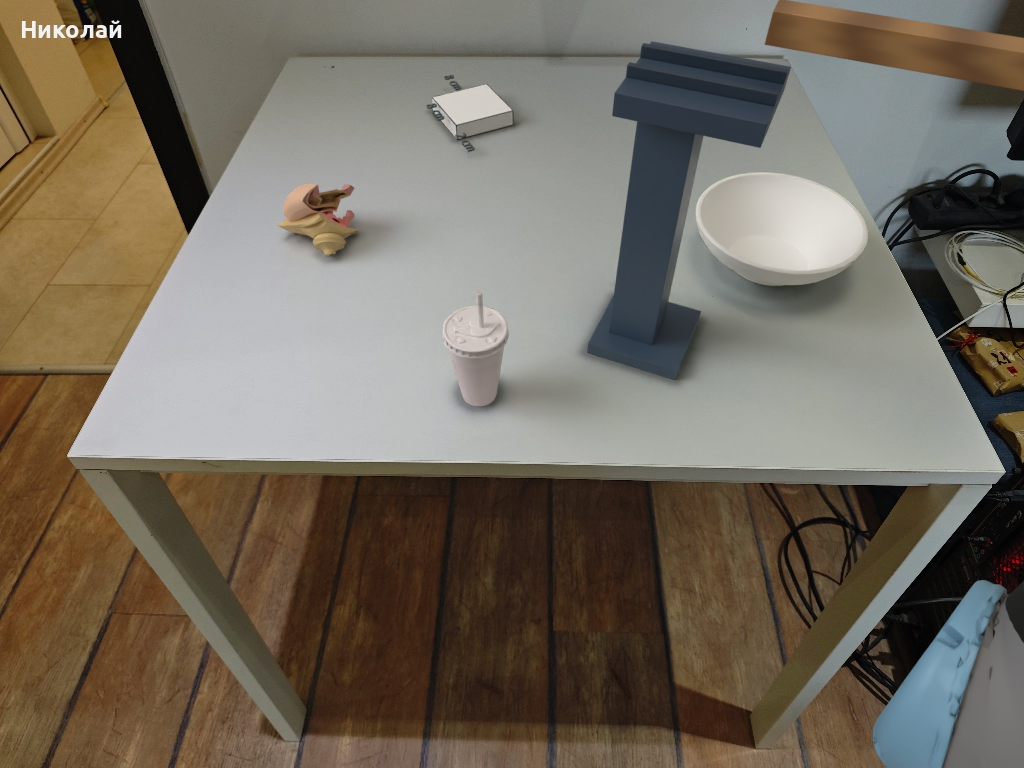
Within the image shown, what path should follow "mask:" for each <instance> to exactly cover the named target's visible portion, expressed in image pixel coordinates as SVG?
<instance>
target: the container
mask: <svg viewBox="0 0 1024 768" xmlns="http://www.w3.org/2000/svg"><path fill="white" fill-rule="evenodd" d="M443 78H444V80H445V81H449V83H448V84H449V86H451V87H452V88H453V89H454V90H455V91H452V92H451V91H450V92H446V93H444V94H439V95H434V96H432V97H431V103H429V104H426V109H427V110H432V111H431V115H432V116H433V117H434V118H435V119H436V120H437V122H440V121H441V123H442V124H443V125H444V127H445V128H446V129H447V130H448V132H450V134H451V135H452V136H453V137H454V138H455V140H456V141H459V140H462V139H464V140H462V141H461V145H462V146H463V147H464V148H465V150H466V151H467V153H470V152H474V151H475V150H476V147H475V146H473V144H472V143H471V142H470V140H468V139H467V138H470V137H473V136H477V135H480V134H485V133H489V132H493V131H496V130H500V129H504V128H507V127H511V126H514V109H512V108H511V106H510V105H508V103H506V102H505V100H504V99H503V98H502V97H501V96H500V95H499V94H498V93H497V92H495V90H494V89H493V88H492V87H491V86H490V85H489V84H488V83H484V84H480V85H476V86H471V87H468V88H464V89H463V88H462V85H460V84H459V83H458V82H457V81H456V80H453V79H455V76H454V74H449V75H445V76H444V77H443ZM465 143H467V144H465Z"/></svg>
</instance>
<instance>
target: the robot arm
mask: <svg viewBox="0 0 1024 768" xmlns="http://www.w3.org/2000/svg"><path fill="white" fill-rule="evenodd" d="M872 728H873V729H872V743H873V747H874V750H875V753H876V754H877V756H878V759H879V760H880V761H881V763H882V764H883V765H884V767H885V768H1024V580H1023V581H1022V582H1021V583H1020V584H1019V585H1018V586H1017V587H1016V588H1014V589H1013V590H1012V592H1011V593H1008V591H1007V589H1006V588H1005V587H1004V586H1003V585H1001V584H997V583H996V584H995V583H992V581H991V582H990V581H988V580H985V579H982V580H977V581H974V583H973V585H972V586H971V587H970V588H969V590H968V591H967V592H966V593H965V595H964V597H963V598H962V599H961V601H960V602H959V604H958V605H957V606H956V608H954V611H953V612H952V613H951V615H950V616H949V617H948V619H947V620H946V622H945V623H944V625H943V626H942V627H941V629H940V630H939V631H938V633H937V634H936V636H935V638H933V640H932V642H931V643H930V644H929V646H928V647H927V648H926V650H925V651H924V652H923V654H922V655H921V657H920V658H919V659H918V661H917V662H916V664H915V665H914V666H913V667H912V669H911V670H910V672H909V673H908V674H907V676H906V678H905V679H904V680H903V682H902V683H901V684H900V686H899V687H898V688H897V690H896V692H895V693H894V694H893V696H892V697H891V699H890V700H889V701H888V703H887V704H886V706H884V708H883V710H882V711H881V712H880V714H879V715H878V717H877V719H876V721H875V722H874V725H873V727H872Z"/></svg>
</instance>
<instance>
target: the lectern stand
mask: <svg viewBox="0 0 1024 768" xmlns="http://www.w3.org/2000/svg"><path fill="white" fill-rule="evenodd" d="M640 46H641V47H640V54H639V58H638V59H637V61H636V62H631V61H630V62H628V64H627V65H626V71H625V72H626V73H625V77H624V79H623V80H622V81H621V83H620V85H619V86H618V87H617V89H616V90H615V91H614V96H613V104H612V113H611V116H612V117H614V118H620V119H624V120H627V121H628V120H629V121H634V122H636V126H635V135H634V142H633V148H632V157H631V164H630V171H629V177H628V184H627V185H628V187H627V193H626V201H625V208H624V216H623V222H622V223H623V224H622V229H621V230H622V231H621V238H620V246H619V252H618V260H617V269H616V276H615V283H614V288H613V289H614V290H613V295H612V297H611V299H610V301H609V303H608V304H607V306H606V308H605V310H604V312H603V315H602V316H601V318H600V320H599V321H598V324H597V326H596V327H595V329H594V331H593V333H592V335H591V337H590V338H589V341H588V342H587V349H586V353H587V354H591V355H594V356H597V357H600V358H604V359H607V360H610V361H613V362H616V363H619V364H622V365H626V366H629V367H632V368H635V369H639V370H641V371H644V372H648V373H651V374H654V375H658V376H661V377H664V378H667V379H670V380H674V381H675V380H676V379H677V376H678V373H679V371H680V369H681V366H682V364H683V361H684V359H685V356H686V354H687V351H688V348H689V346H690V344H691V341H692V338H693V337H694V334H695V330H696V328H697V326H698V323H699V321H700V318H701V313H702V310H699V309H695V308H692V307H688V306H685V305H681V304H677V303H674V302H671V301H669V300H670V295H671V290H672V285H673V280H674V276H675V272H676V268H677V263H678V259H679V258H678V257H679V254H680V249H681V245H682V244H681V243H682V238H683V234H684V229H685V225H686V220H687V215H688V211H689V206H690V202H691V197H692V193H693V188H694V181H695V178H696V173H697V168H698V164H699V159H700V155H701V154H700V153H701V149H702V146H703V141H704V137H707V138H712V139H717V140H722V141H725V142H730V143H736V144H741V145H745V146H750V147H753V148H758V149H761V148H762V146H763V143H764V141H765V138H766V136H767V134H768V131H769V128H770V126H771V124H772V120H773V118H774V116H775V114H776V111H777V109H778V107H779V104H780V102H781V99H782V97H783V95H784V92H785V90H786V86H787V82H788V79H789V77H790V72H791V69H792V66H789V65H783V64H778V63H772V62H767V61H761V60H756V59H751V58H745V57H740V56H734V55H729V54H723V53H718V52H714V51H708V50H707V51H706V50H702V49H697V48H691V47H685V46H680V45H675V44H670V43H669V44H668V43H664V42H657V41H653V40H652V41H650V43H647V42H643V43H642V44H641V45H640Z"/></svg>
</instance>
